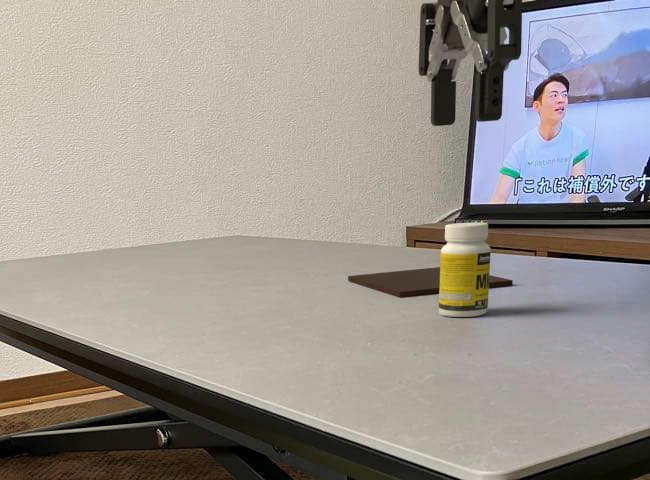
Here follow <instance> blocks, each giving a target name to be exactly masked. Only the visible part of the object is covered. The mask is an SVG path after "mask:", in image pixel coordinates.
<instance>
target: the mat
mask: <svg viewBox="0 0 650 480" xmlns="http://www.w3.org/2000/svg"><path fill="white" fill-rule="evenodd" d="M347 281H348V282H351V283H354V284H357V285H360V286H363V287H366V288H369V289H372V290H376V291H379V292H382V293H386V294H388V295H391V296H394V297H397V298H406V297H407V298H408V297H416V296H425V295H427V296H428V295H435V294H439V291H440V266H437V267H436V266H435V267H427V268H426V267H425V268H417V269H416V268H415V269H405V270H396V271H386V272H376V273H375V272H374V273H365V274H355V275H348V276H347ZM510 286H511V287H512V286H513V279H509V278H504V277H500V276H495V275H489V289H493V288H503V287H510Z"/></svg>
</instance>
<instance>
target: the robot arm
mask: <svg viewBox="0 0 650 480" xmlns="http://www.w3.org/2000/svg"><path fill="white" fill-rule="evenodd" d="M419 12H420V13H419V14H420V15H419V41H418V43H419V44H418V45H419V46H418V51H419V52H418V75H419V76H420V77H426V80H427V82H430V83H431V84H430V123H431V125H432V126H433V127H443V126H452V125H454V124H455V122H456V108H457V107H456V105H457V104H456V103H457V80H455V79H456V76H457V74H458V70H459V67H460V64H461V61H463V60H464V59H465V58H466V57H467V56H468V54H469V53H470V54H471V55H472V58H473V61H474V65H475V67H476V70H477V72H478V73H476V75H475V97H474V98H475V103H474V104H475V106H474V118H475V121H476V122H479V123H483V122H496V121H499V120H500V119H502V115H503V101H504V99H503V97H504V75H505V71H507V70H508V69H509V66H510V63H511V62H512V61H517V60H520V58H521V55H522V40H523V39H522V36H523V35H522V34H523V0H437V1H435V2H424V3H422V4H421V6H420V10H419ZM506 28H507V30H508V34H507V31H506ZM507 39H508V43H505V42H506V41H507ZM430 54H431V58H430Z"/></svg>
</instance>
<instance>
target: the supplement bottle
mask: <svg viewBox="0 0 650 480" xmlns="http://www.w3.org/2000/svg"><path fill="white" fill-rule="evenodd" d="M488 237H489V223H487V222H477V221H476V222H457V223H449V224H446V225H445V227H444V241H446V244H445V245H443V246H442V248H441V249H440V256H439V257H440V261H439V262H440V263H439V265H440V266H439V267H440V291H439V293H438V296H439V297H438V313H439V314H440V315H441V316H442V317H443V316H444V317H450V318H472V317H481V316H483V315H485V314H486V313H487V312H488V308H489V293H490V292H489V290H490V288H489V275H490V273H491V252H492V251H491V246H490V245H489V244H488V243H487V242H486V240H488Z"/></svg>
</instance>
